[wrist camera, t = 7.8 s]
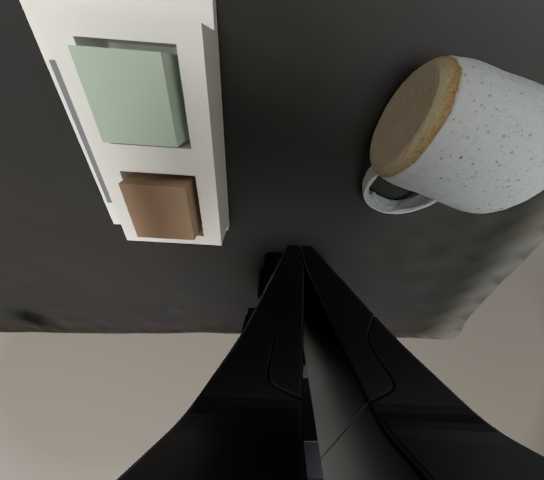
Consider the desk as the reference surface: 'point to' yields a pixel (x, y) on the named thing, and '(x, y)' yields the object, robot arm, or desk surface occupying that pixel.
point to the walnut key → (162, 205)
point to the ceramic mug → (459, 139)
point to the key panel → (195, 83)
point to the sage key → (133, 95)
